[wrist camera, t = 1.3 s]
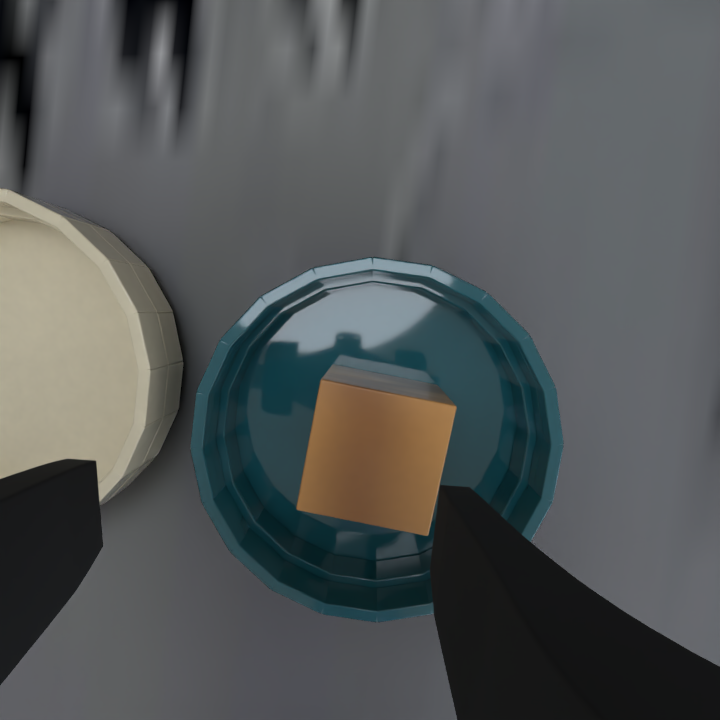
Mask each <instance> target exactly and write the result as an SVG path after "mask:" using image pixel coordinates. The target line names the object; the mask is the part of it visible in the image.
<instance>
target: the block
mask: <svg viewBox="0 0 720 720" xmlns="http://www.w3.org/2000/svg"><path fill="white" fill-rule="evenodd" d="M456 408H457V407H456V405H455V404H454V403H453V402H452V401H451V400H450V398H449V397H448V396H447V395H446V394H445V393H444V392H443V391H442V389H441V388H440V387H439V386H438V385H435V384H430V383H425V382H420V381H415V380H410V379H405V378H400V377H395V376H390V375H385V374H380V373H374V372H369V371H364V370H359V369H354V368H349V367H344V366H339V365H334V364H333V365H332V366H331V367H330V368H329V370H328V371H327V372H326V374H325V375H324V376H323V378H322V379H321V380H320V384H319V390H318V395H317V400H316V406H315V411H314V416H313V421H312V427H311V432H310V437H309V443H308V448H307V453H306V458H305V464H304V469H303V474H302V480H301V485H300V490H299V495H298V501H297V506H296V509H297V510H300V511H305V512H310V513H315V514H320V515H325V516H330V517H335V518H340V519H345V520H350V521H355V522H360V523H365V524H370V525H375V526H380V527H385V528H390V529H395V530H400V531H405V532H410V533H415V534H420V535H425V536H428V535H429V531H430V526H431V522H432V517H433V513H434V508H435V504H436V499H437V494H438V490H439V485H440V481H441V476H442V472H443V467H444V463H445V458H446V454H447V449H448V445H449V440H450V435H451V431H452V426H453V422H454V417H455V413H456Z"/></svg>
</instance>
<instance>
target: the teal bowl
mask: <svg viewBox="0 0 720 720" xmlns="http://www.w3.org/2000/svg"><path fill="white" fill-rule="evenodd" d="M333 364H334V365H339V366H344V367H349V368H354V369H359V370H364V371H369V372H374V373H380V374H385V375H390V376H395V377H400V378H405V379H410V380H415V381H420V382H425V383H430V384H435V385H438V386H439V387H440V388H441V389H442V391H443V392H444V393H445V394H446V395H447V396H448V397H449V398H450V400H451V401H452V402H453V403H454V404H455V405H456V407H457V408H456V413H455V417H454V422H453V426H452V431H451V435H450V440H449V445H448V449H447V454H446V458H445V463H444V467H443V472H442V476H441V481H440V485H447V486H462V487H470V488H471V489H472V490H474V491H475V492H476V493H477V494H478V495H479V496H480V497H481V498H483V499H484V500H485V501H486V502H487V503H488V504H489V505H490V506H491V507H492V508H493V509H494V510H495V511H496V512H498V513H499V514H500V515H501V516H502V517H503V518H504V519H505V520H506V521H507V522H508V523H509V524H511V525H512V526H513V527H514V528H515V529H516V530H517V531H518V532H519V533H521V534H522V535H523V536H524V537H525V538H526V539H527V540H529V541H530V542H531V540H532V539H533V537H534V535H535V533H536V531H537V530H538V528H539V526H540V524H541V522H542V521H543V519H544V517H545V515H546V513H547V512H548V510H549V508H550V506H551V504H552V502H553V499H554V494H555V489H556V484H557V478H558V473H559V468H560V463H561V457H562V452H563V447H564V446H563V444H564V443H563V436H562V428H561V421H560V414H559V406H558V399H557V392H556V388H555V385H554V383H553V381H552V379H551V377H550V375H549V373H548V371H547V369H546V367H545V365H544V362H543V360H542V358H541V356H540V354H539V352H538V350H537V348H536V346H535V344H534V342H533V340H532V338H531V336H530V335H529V334H528V332H527V331H526V330H525V329H524V328H523V327H522V326H521V325H520V324H519V323H517V322H516V321H515V320H514V319H513V318H512V317H511V316H510V315H509V314H508V313H507V312H506V311H505V310H504V309H503V308H502V307H501V306H500V305H499V304H498V303H497V302H496V301H495V300H494V299H493V298H492V297H491V296H490V295H489V294H488V293H486V291H484V290H482V289H480V288H478V287H476V286H474V285H472V284H470V283H468V282H466V281H464V280H462V279H459V278H457V277H455V276H453V275H451V274H449V273H447V272H445V271H443V270H441V269H439V268H437V267H435V266H432V265H428V264H421V263H413V262H406V261H399V260H392V259H385V258H378V257H373V258H372V257H368V258H362V259H357V260H351V261H346V262H340V263H335V264H329V265H324V266H318V267H314V268H311V269H309V270H307V271H305V272H304V273H302V274H300V275H298V276H296V277H294V278H293V279H291V280H289V281H287V282H285V283H283V284H282V285H280V286H278V287H276V288H274V289H272V290H271V291H269V292H267V293H265V294H263V295H262V296H261V297H259V298H258V299H257V300H256V301H255V302H254V303H253V304H252V306H251V307H250V308H249V309H248V310H247V311H246V312H245V313H244V314H243V315H242V316H241V317H240V318H239V319H238V321H237V322H236V323H235V324H234V325H233V326H232V327H231V328H230V329H229V330H228V331H227V332H226V333H225V334H224V336H223V337H222V338H221V340H220V341H219V343H218V345H217V347H216V349H215V352H214V354H213V356H212V358H211V360H210V363H209V365H208V367H207V369H206V371H205V374H204V376H203V378H202V380H201V382H200V384H199V387H198V389H197V392H196V399H195V408H194V417H193V427H192V436H191V445H190V447H191V454H192V459H193V464H194V468H195V473H196V478H197V483H198V487H199V492H200V497H201V501H202V504H203V506H204V508H205V510H206V511H207V513H208V515H209V517H210V518H211V520H212V522H213V523H214V525H215V527H216V529H217V530H218V532H219V534H220V536H221V537H222V539H223V541H224V543H225V544H226V546H227V548H228V550H229V551H230V552H231V553H232V554H233V555H234V556H235V557H236V558H237V559H238V560H239V561H240V562H241V563H242V564H243V565H245V566H246V567H247V568H248V569H249V570H250V571H251V572H252V573H253V574H254V575H255V576H256V577H258V578H259V579H260V580H261V581H262V582H263V583H264V584H265V585H266V586H267V587H268V588H270V589H272V591H274V592H276V593H279V594H281V595H283V596H285V597H287V598H289V599H291V600H293V601H295V602H297V603H300V604H302V605H304V606H306V607H308V608H310V609H312V610H314V611H316V612H318V613H322V614H324V615H331V616H337V617H344V618H351V619H357V620H364V621H371V622H384V621H390V620H397V619H404V618H411V617H418V616H424V615H431V614H434V607H433V598H432V588H431V577H430V564H431V555H432V547H433V539H434V530H435V522H436V514H437V505H438V497H439V490H438V494H437V499H436V504H435V508H434V513H433V517H432V522H431V526H430V531H429V535H428V536H425V535H420V534H415V533H410V532H405V531H400V530H395V529H390V528H385V527H380V526H375V525H370V524H365V523H360V522H355V521H350V520H345V519H340V518H335V517H330V516H325V515H320V514H315V513H310V512H305V511H300V510H297V509H296V506H297V501H298V495H299V490H300V485H301V480H302V474H303V469H304V464H305V458H306V453H307V448H308V443H309V437H310V432H311V427H312V421H313V416H314V411H315V406H316V400H317V395H318V390H319V384H320V380H321V379H322V378H323V376H324V375H325V374H326V372H327V371H328V370H329V368H330V367H331V366H332V365H333ZM440 485H439V489H440Z"/></svg>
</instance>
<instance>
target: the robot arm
mask: <svg viewBox="0 0 720 720" xmlns="http://www.w3.org/2000/svg"><path fill="white" fill-rule="evenodd" d="M102 547H103V540H102V527H101V514H100V502H99V489H98V477H97V464H96V461H95V460H80V459H63V460H59V461H54V462H51V463H47V464H44V465H41V466H37V467H34V468H31V469H28V470H25V471H22V472H19V473H16V474H13V475H10V476H7V477H5V478H2V479H0V685H1V684H2V682H3V681H4V680H5V679H6V677H7V676H8V675H9V674H10V673H11V671H12V670H13V669H14V668H15V666H16V665H17V664H18V663H19V661H20V660H21V659H22V658H23V656H24V655H25V654H26V653H27V651H28V650H29V649H30V648H31V647H32V645H33V644H34V643H35V642H36V640H37V639H38V638H39V637H40V635H41V634H42V633H43V632H44V630H45V629H46V628H47V627H48V625H49V624H50V623H51V622H52V620H53V619H54V618H55V617H56V615H57V614H58V613H59V612H60V610H61V609H62V608H63V607H64V605H65V604H66V603H67V602H68V600H69V599H70V598H71V596H72V595H73V594H74V592H75V591H76V590H77V588H78V587H79V585H80V583H81V582H82V580H83V579H84V577H85V576H86V574H87V572H88V571H89V569H90V567H91V566H92V564H93V562H94V561H95V559H96V557H97V555H98V554H99V552H100V550H101V549H102ZM430 577H431V588H432V598H433V607H434V616H435V621H436V626H437V630H438V635H439V639H440V644H441V649H442V653H443V658H444V662H445V666H446V671H447V675H448V680H449V684H450V689H451V693H452V698H453V702H454V706H455V711H456V715H457V720H720V667H719V666H717V665H715V664H713V663H712V662H710V661H708V660H706V659H704V658H702V657H700V656H698V655H697V654H695V653H693V652H691V651H689V650H688V649H686V648H684V647H682V646H681V645H679V644H677V643H676V642H674V641H672V640H670V639H669V638H667V637H665V636H663V635H662V634H660V633H658V632H656V631H655V630H653V629H651V628H650V627H648V626H646V625H645V624H643V623H641V622H640V621H638V620H637V619H635V618H633V617H632V616H630V615H629V614H627V613H625V612H624V611H622V610H621V609H619V608H618V607H616V606H615V605H613V604H612V603H610V602H609V601H608V600H606V599H605V598H603V597H602V596H600V595H599V594H597V593H596V592H594V591H593V590H591V589H590V588H588V587H587V586H586V585H584V584H583V583H581V582H580V581H579V580H577V579H576V578H575V577H573V576H572V575H571V574H569V573H568V572H567V571H566V570H564V569H563V568H562V567H560V566H559V565H558V564H557V563H555V562H554V561H553V560H552V559H550V558H549V557H548V556H546V555H545V554H544V553H543V552H542V551H540V550H539V549H538V548H537V547H536V546H534V545H533V544H532V543H531V542H530V541H529V540H527V539H526V538H525V537H524V536H523V535H522V534H521V533H519V532H518V531H517V530H516V529H515V528H514V527H513V526H512V525H511V524H509V523H508V522H507V521H506V520H505V519H504V518H503V517H502V516H501V515H500V514H499V513H498V512H496V511H495V510H494V509H493V508H492V507H491V506H490V505H489V504H488V503H487V502H486V501H485V500H484V499H483V498H481V497H480V496H479V495H478V494H477V493H476V492H475V491H474V490H472V489H471V488H470V487H462V486H447V485H440V489H439V497H438V505H437V514H436V522H435V530H434V539H433V547H432V555H431V564H430Z"/></svg>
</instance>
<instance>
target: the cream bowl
mask: <svg viewBox="0 0 720 720" xmlns="http://www.w3.org/2000/svg"><path fill="white" fill-rule="evenodd" d="M172 312H173V311H172V309H171V307H170V305H169V303H168V302H167V300H166V298H165V296H164V294H163V293H162V291H161V289H160V287H159V286H158V284H157V282H156V280H155V278H154V277H153V275H152V273H151V271H150V269H149V268H148V267H147V266H146V265H145V264H144V263H143V262H142V261H141V260H140V259H139V258H138V257H137V256H136V255H135V254H134V253H133V252H132V251H131V250H130V249H129V248H128V247H127V246H125V245H124V244H123V243H122V242H121V241H120V240H119V239H118V238H117V237H116V236H115V235H114V234H113V233H112V232H110V231H109V230H107V229H105V228H103V227H101V226H99V225H97V224H95V223H93V222H91V221H89V220H87V219H85V218H83V217H81V216H79V215H77V214H75V213H73V212H71V211H69V210H67V209H64V208H61V207H58V206H56V205H53V204H50V203H47V202H44V201H40V200H38V199H35V198H32V197H29V196H26V195H23V194H20V193H17V192H14V191H11V190H8V189H2V188H0V479H2V478H5V477H7V476H10V475H13V474H16V473H19V472H22V471H25V470H28V469H31V468H34V467H37V466H41V465H44V464H47V463H51V462H54V461H59V460H63V459H80V460H95V461H96V464H97V477H98V489H99V502H100V506H101V505H102V504H104V503H105V502H106V501H108V500H109V499H111V498H112V497H114V496H115V495H116V494H118V493H119V492H121V491H122V490H123V489H125V488H126V487H128V486H129V485H130V483H131V482H132V481H133V480H134V479H135V478H136V477H137V476H138V475H139V474H140V473H141V472H142V471H143V470H144V469H145V468H146V467H147V466H148V464H149V463H150V462H151V461H152V460H153V459H154V458H155V457H156V456H157V455H158V453H159V452H160V449H161V447H162V445H163V443H164V441H165V438H166V436H167V434H168V432H169V430H170V427H171V425H172V423H173V421H174V419H175V416H176V414H177V412H178V409H179V400H180V391H181V381H182V372H183V362H182V361H183V358H182V353H181V348H180V343H179V339H178V334H177V329H176V324H175V320H174V315H173V313H172Z"/></svg>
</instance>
